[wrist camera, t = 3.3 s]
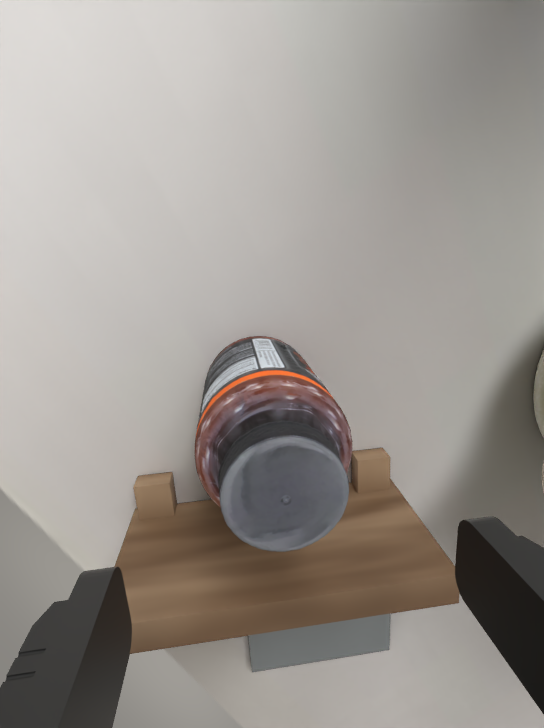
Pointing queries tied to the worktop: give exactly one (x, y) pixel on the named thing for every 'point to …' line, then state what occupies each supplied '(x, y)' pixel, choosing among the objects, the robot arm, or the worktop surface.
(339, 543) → the wooden panel
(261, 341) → the supplement bottle
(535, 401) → the kettle
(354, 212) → the worktop surface
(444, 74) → the worktop surface
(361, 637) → the mat
